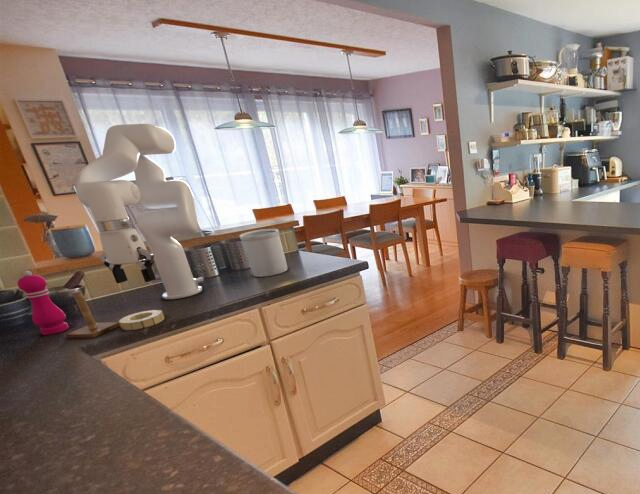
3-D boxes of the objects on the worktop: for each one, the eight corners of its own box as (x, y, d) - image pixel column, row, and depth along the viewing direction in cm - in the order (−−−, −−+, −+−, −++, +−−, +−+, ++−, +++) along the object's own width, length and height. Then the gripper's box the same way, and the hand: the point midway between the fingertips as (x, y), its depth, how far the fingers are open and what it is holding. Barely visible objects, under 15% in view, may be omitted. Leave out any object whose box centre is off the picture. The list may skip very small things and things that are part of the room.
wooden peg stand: (96, 325, 140) (78, 287, 135) (121, 325, 139) (104, 286, 134) (67, 338, 132) (47, 297, 127) (93, 337, 131) (74, 296, 126)
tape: (143, 316, 146) (140, 310, 145) (172, 316, 144) (169, 309, 144) (112, 330, 136) (109, 323, 135) (144, 329, 134) (141, 322, 134)
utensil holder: (262, 279, 179) (250, 237, 173) (244, 275, 187) (232, 234, 181) (295, 269, 191) (285, 229, 184) (277, 266, 198) (266, 227, 192)
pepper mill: (51, 336, 134) (20, 274, 127) (33, 335, 136) (1, 274, 128) (77, 326, 141) (49, 267, 133) (60, 326, 142) (31, 267, 135)
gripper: (152, 222, 131) (171, 276, 137) (101, 225, 132) (122, 278, 139) (129, 226, 124) (151, 284, 130) (76, 229, 126) (99, 286, 132)
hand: (136, 281), depth 134 cm, fingers open, 9 cm apart
